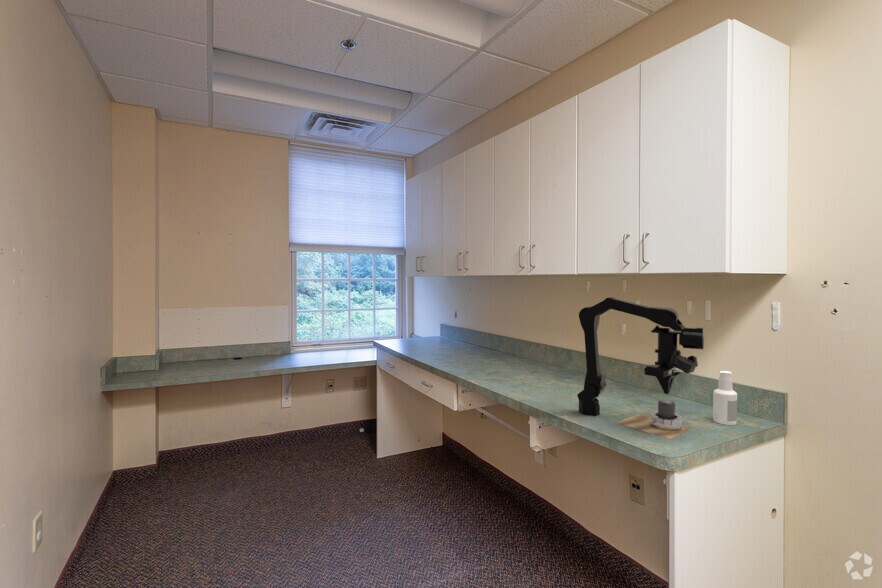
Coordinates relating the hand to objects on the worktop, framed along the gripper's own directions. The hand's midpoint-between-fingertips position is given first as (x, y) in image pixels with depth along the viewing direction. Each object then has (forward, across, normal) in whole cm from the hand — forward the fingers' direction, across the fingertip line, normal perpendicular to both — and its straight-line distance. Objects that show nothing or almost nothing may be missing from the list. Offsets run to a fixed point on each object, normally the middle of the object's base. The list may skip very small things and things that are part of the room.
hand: (666, 393), depth 143 cm
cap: (+9, 0, 0) cm, 9 cm away
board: (+12, -2, +3) cm, 13 cm away
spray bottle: (+12, +20, -10) cm, 25 cm away
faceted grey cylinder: (+11, 0, 0) cm, 11 cm away
